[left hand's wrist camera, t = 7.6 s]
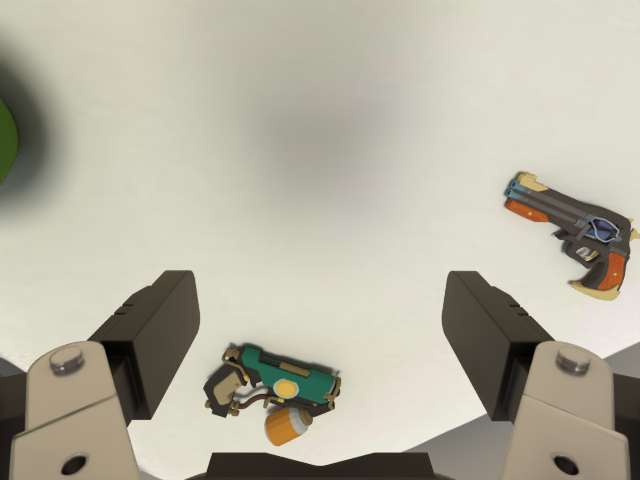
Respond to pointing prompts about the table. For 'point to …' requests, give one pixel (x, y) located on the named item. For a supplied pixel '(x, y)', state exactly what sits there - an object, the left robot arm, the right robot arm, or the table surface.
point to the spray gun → (273, 392)
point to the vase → (7, 141)
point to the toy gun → (579, 232)
